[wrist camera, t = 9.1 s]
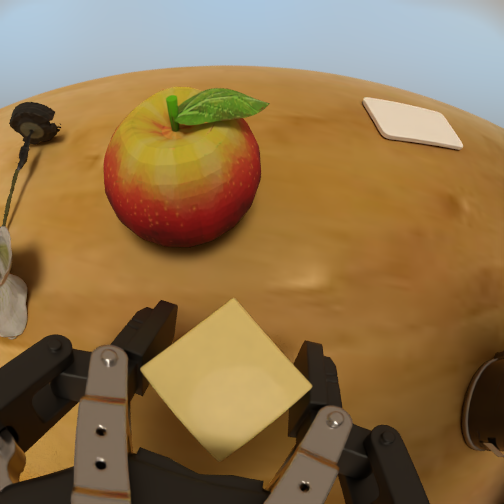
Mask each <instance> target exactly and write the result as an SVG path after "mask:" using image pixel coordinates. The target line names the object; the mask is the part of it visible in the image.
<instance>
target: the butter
mask: <svg viewBox="0 0 504 504" xmlns="http://www.w3.org/2000/svg"><path fill="white" fill-rule="evenodd" d="M140 370H141V372H142V373H143V375H144V376H145V377H146V379H147V380H148V381H149V383H150V384H151V385H152V387H153V388H154V389H155V391H156V392H157V393H158V395H159V396H160V397H161V398H162V400H163V401H164V402H165V403H166V405H167V406H168V407H169V408H170V409H171V411H172V412H173V413H174V414H175V415H176V417H177V418H178V419H179V420H180V421H181V422H182V424H183V425H184V426H185V427H186V428H187V429H188V430H189V432H190V433H191V434H192V435H193V436H194V437H195V438H196V439H197V440H198V441H199V443H200V444H201V445H202V446H203V447H204V448H205V449H206V450H207V451H208V452H209V453H210V454H211V455H212V456H213V457H214V458H215V459H216V460H217V461H222V460H223V459H225V458H226V457H228V456H229V455H231V454H232V453H233V452H235V451H236V450H237V449H239V448H240V447H242V446H243V445H244V444H246V443H247V442H248V441H250V440H251V439H252V438H253V437H255V436H256V435H257V434H259V433H260V432H261V431H262V430H264V429H265V428H266V427H267V426H269V425H270V424H271V423H272V422H274V421H275V420H276V419H277V418H278V417H280V416H281V415H282V414H283V413H284V412H285V411H287V410H288V409H289V408H290V407H291V406H292V405H294V404H295V403H296V402H297V401H298V400H299V399H300V398H301V397H303V396H304V395H305V394H306V393H307V392H308V391H309V390H310V389H311V388H312V384H311V383H310V382H309V381H308V380H307V379H306V378H305V377H304V376H303V374H302V373H301V372H300V371H299V370H298V369H297V368H296V367H295V366H294V365H293V363H292V362H291V361H290V360H289V359H288V358H287V357H286V356H285V355H284V353H283V352H282V351H281V350H280V349H279V348H278V347H277V346H276V344H275V343H274V342H273V341H272V340H271V339H270V338H269V337H268V335H267V334H266V333H265V332H264V331H263V330H262V329H261V327H260V326H259V325H258V324H257V323H256V322H255V320H254V319H253V318H252V317H251V316H250V315H249V314H248V312H247V311H246V310H245V309H244V308H243V306H242V305H241V304H240V303H239V302H238V301H237V299H236V298H232V299H230V300H229V301H228V302H227V303H225V304H224V305H223V306H221V307H220V308H219V309H218V310H216V311H215V312H214V313H212V314H211V315H210V316H208V317H207V318H206V319H205V320H203V321H202V322H201V323H199V324H198V325H197V326H195V327H194V328H193V329H191V330H190V331H189V332H187V333H186V334H185V335H183V336H182V337H181V338H180V339H178V340H177V341H176V342H174V343H173V344H172V345H170V346H169V347H168V348H166V349H165V350H164V351H162V352H161V353H159V354H158V355H157V356H155V357H154V358H153V359H151V360H150V361H149V362H147V363H146V364H145V365H143V366H142V367H141V368H140Z"/></svg>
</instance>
